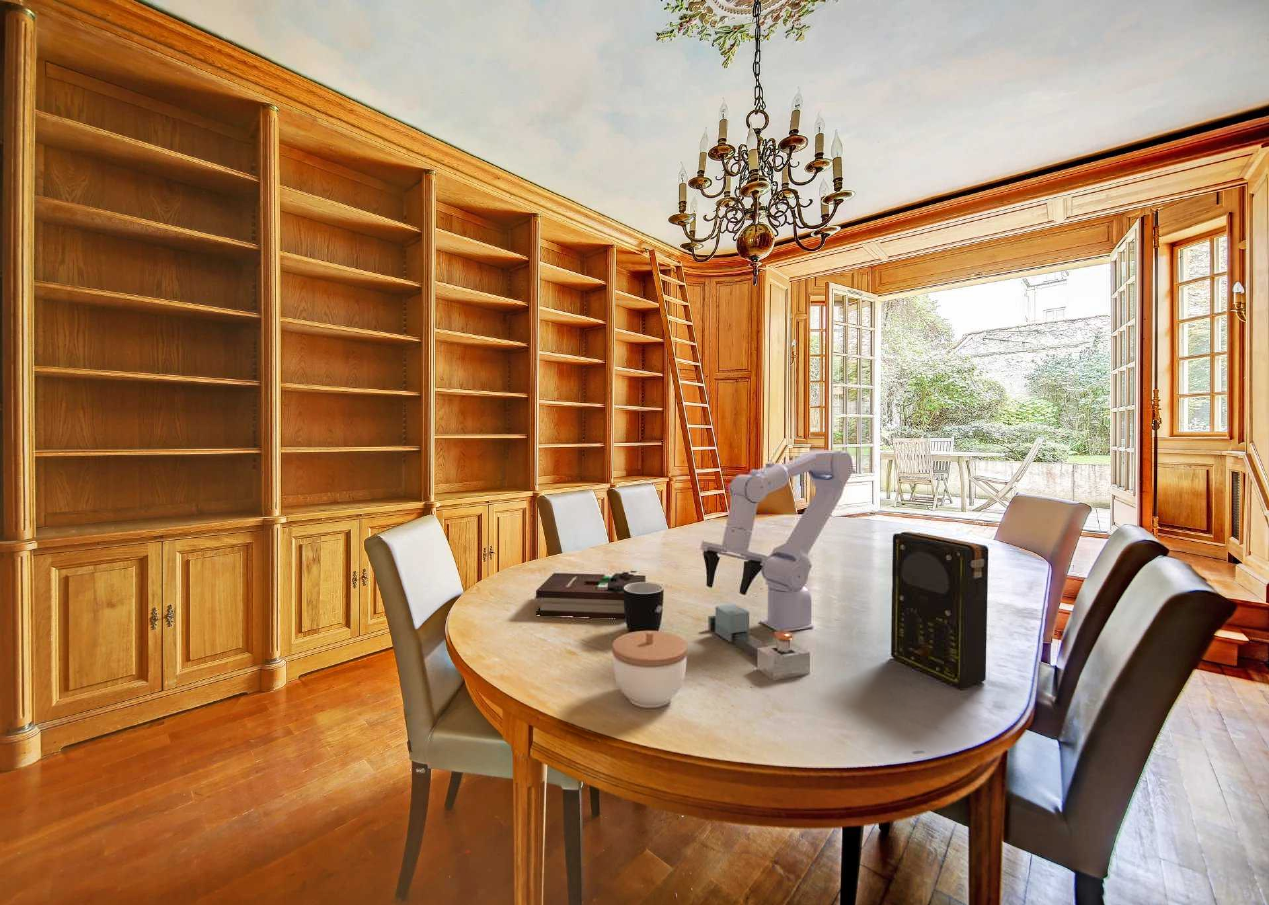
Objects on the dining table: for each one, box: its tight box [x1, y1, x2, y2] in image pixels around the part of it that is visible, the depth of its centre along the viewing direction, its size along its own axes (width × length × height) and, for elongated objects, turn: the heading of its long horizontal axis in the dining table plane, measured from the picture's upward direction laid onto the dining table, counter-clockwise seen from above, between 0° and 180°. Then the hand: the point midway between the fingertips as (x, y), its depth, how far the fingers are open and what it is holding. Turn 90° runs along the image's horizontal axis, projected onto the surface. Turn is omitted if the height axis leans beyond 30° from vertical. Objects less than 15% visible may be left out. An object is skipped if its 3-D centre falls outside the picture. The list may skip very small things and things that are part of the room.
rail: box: [707, 615, 768, 660], centre depth 112 cm, size 5×22×3 cm, turn 21°
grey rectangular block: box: [756, 641, 811, 681], centre depth 99 cm, size 8×5×4 cm, turn 111°
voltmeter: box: [890, 531, 989, 690], centre depth 99 cm, size 16×9×25 cm, turn 23°
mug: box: [623, 581, 664, 633], centre depth 121 cm, size 12×9×10 cm
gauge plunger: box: [774, 630, 794, 655], centre depth 99 cm, size 3×3×5 cm
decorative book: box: [534, 570, 647, 620], centre depth 137 cm, size 19×8×30 cm
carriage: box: [714, 603, 750, 643], centre depth 116 cm, size 5×6×6 cm
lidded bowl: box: [611, 630, 688, 709], centre depth 90 cm, size 13×13×11 cm
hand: (725, 590), depth 116 cm, fingers open, 7 cm apart
